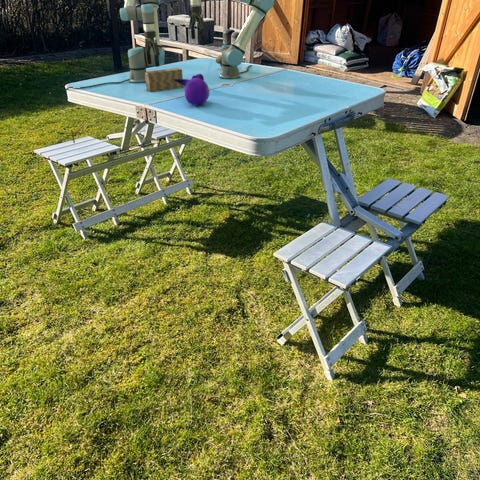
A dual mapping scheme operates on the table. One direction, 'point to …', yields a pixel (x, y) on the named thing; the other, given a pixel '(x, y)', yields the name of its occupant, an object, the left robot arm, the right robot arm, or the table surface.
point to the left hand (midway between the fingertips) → (153, 65)
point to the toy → (195, 89)
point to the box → (163, 79)
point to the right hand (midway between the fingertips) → (197, 39)
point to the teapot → (219, 60)
